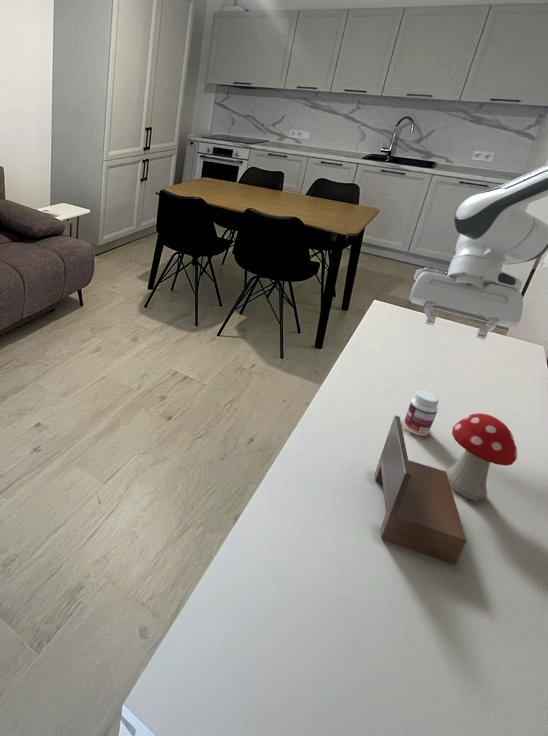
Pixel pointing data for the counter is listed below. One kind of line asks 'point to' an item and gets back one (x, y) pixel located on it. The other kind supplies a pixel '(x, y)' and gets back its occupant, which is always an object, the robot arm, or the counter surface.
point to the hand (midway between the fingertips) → (454, 330)
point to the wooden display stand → (417, 503)
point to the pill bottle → (421, 413)
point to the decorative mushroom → (479, 453)
